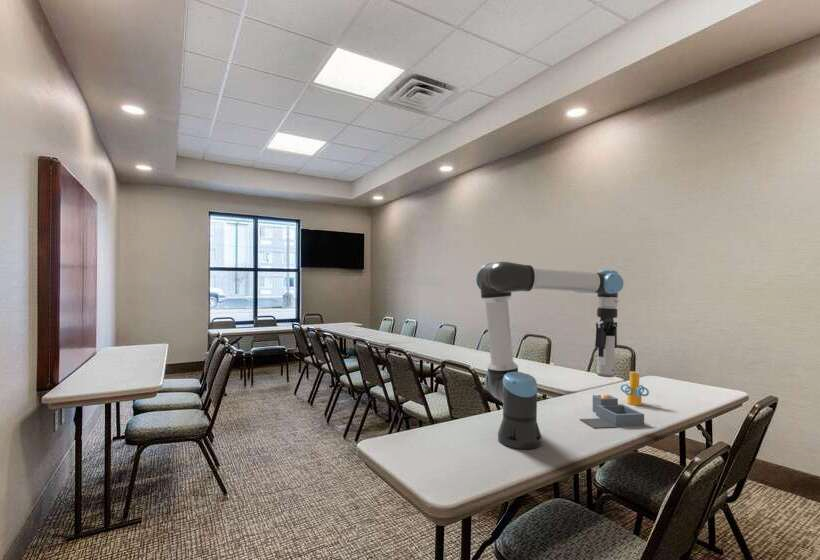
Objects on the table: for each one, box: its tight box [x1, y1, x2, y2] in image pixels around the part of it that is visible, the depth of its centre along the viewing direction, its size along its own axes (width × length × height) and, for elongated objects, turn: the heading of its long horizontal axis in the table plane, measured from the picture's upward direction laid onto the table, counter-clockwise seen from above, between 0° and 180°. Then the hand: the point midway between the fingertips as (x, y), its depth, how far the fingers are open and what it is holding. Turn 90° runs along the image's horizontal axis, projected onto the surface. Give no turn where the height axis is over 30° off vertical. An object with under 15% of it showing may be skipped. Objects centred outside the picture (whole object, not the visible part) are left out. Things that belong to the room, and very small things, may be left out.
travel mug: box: [596, 327, 616, 378], centre depth 164 cm, size 6×7×20 cm
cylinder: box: [620, 371, 650, 406], centre depth 190 cm, size 12×10×15 cm
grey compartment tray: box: [592, 394, 645, 427], centre depth 169 cm, size 12×19×7 cm, turn 8°
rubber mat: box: [579, 417, 618, 429], centre depth 162 cm, size 10×10×1 cm
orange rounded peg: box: [600, 394, 609, 399], centre depth 176 cm, size 3×3×7 cm
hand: (605, 363), depth 164 cm, fingers closed on travel mug, 6 cm apart
